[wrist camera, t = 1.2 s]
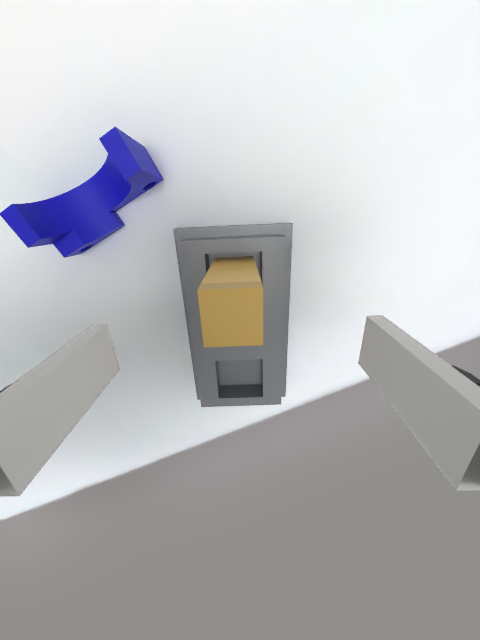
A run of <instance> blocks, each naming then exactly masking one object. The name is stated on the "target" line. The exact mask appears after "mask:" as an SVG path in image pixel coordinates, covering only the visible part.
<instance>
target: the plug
mask: <svg viewBox="0 0 480 640" xmlns="http://www.w3.org/2000/svg"><path fill="white" fill-rule="evenodd" d="M197 293H198V301H199V310H200V318H201V327H202V336H203V344H204V347H229V346H256V345H263V285H262V282H261V279H260V276H259V273H258V269H257V266H256V263H255V260H254V257H253V256H234V257H215V259H214V261H213V262H212V264H211V266H210V268H209V270H208V272H207V273H206V275H205V277H204V279H203V281H202V282H201V284H200V286H199V288H198V290H197Z"/></svg>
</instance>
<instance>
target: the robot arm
mask: <svg viewBox="0 0 480 640" xmlns="http://www.w3.org/2000/svg"><path fill="white" fill-rule="evenodd" d="M358 363H359V364H360V366H361V367H362V368H363V370H364V371H365V372H366V373H367V375H368V376H369V377H370V379H371V380H372V381H373V383H374V384H375V385H376V386H377V388H378V389H379V390H380V392H381V393H382V394H383V396H384V397H385V398H386V399H387V401H388V402H389V403H390V405H391V406H392V407H393V409H394V410H395V411H396V413H397V414H398V415H399V416H400V418H401V419H402V420H403V422H404V423H405V424H406V425H407V427H408V428H409V429H410V431H411V432H412V433H413V435H414V436H415V437H416V439H417V440H418V441H419V442H420V444H421V445H422V446H423V448H424V449H425V450H426V452H427V453H428V454H429V456H430V457H431V458H432V459H433V461H434V462H435V463H436V465H437V466H438V467H439V469H440V470H441V471H442V473H443V474H444V475H445V476H446V478H447V479H448V480H449V482H450V483H451V484H452V486H453V487H454V488H455V489H456V490H480V380H479V379H478V378H476V377H475V376H473V375H472V374H470V373H468V372H466V371H464V370H462V369H460V368H458V367H455V366H451V365H449V364H448V363H447V362H445V361H444V360H442V359H441V358H440V357H438V356H437V355H436V354H434V353H433V352H432V351H430V350H429V349H427V348H426V347H425V346H423V345H422V344H421V343H419V342H418V341H417V340H415V339H414V338H413V337H411V336H410V335H408V334H407V333H406V332H404V331H403V330H402V329H400V328H399V327H398V326H396V325H395V324H394V323H392V322H391V321H389V320H388V319H387V318H385V317H384V316H383V315H380V316H367V318H366V323H365V329H364V334H363V340H362V346H361V351H360V357H359V362H358ZM119 370H120V369H119V366H118V362H117V359H116V355H115V352H114V348H113V345H112V341H111V338H110V334H109V331H108V327H107V325H91V326H90V327H89V328H87V329H86V330H85V331H83V332H82V333H81V334H79V335H78V336H77V337H75V338H74V339H73V340H71V341H70V342H68V343H67V344H66V345H64V346H63V347H62V348H60V349H59V350H58V351H56V352H55V353H54V354H52V355H51V356H50V357H48V358H47V359H46V360H44V361H43V362H41V363H40V364H39V365H37V366H36V367H35V368H33V369H32V370H31V371H29V372H28V373H27V374H25V375H24V376H23V377H21V378H20V379H18V380H17V381H16V382H14V383H13V384H11V385H9V386H7V387H6V388H4V389H3V390H2V391H0V496H20V495H21V494H22V492H23V491H24V490H25V489H26V487H27V486H28V485H29V483H30V482H31V481H32V480H33V478H34V477H35V476H36V475H37V473H38V472H39V471H40V470H41V468H42V467H43V466H44V465H45V463H46V462H47V461H48V459H49V458H50V457H51V456H52V454H53V453H54V452H55V451H56V449H57V448H58V447H59V446H60V444H61V443H62V442H63V441H64V439H65V438H66V437H67V435H68V434H69V433H70V432H71V430H72V429H73V428H74V427H75V425H76V424H77V423H78V422H79V420H80V419H81V418H82V416H83V415H84V414H85V413H86V411H87V410H88V409H89V408H90V406H91V405H92V404H93V403H94V401H95V400H96V399H97V398H98V396H99V395H100V394H101V392H102V391H103V390H104V389H105V387H106V386H107V385H108V384H109V382H110V381H111V380H112V379H113V377H114V376H115V375H116V373H117V372H118V371H119Z"/></svg>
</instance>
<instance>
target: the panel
mask: <svg viewBox="0 0 480 640" xmlns="http://www.w3.org/2000/svg"><path fill="white" fill-rule="evenodd" d="M174 236H175V243H176V250H177V257H178V264H179V271H180V278H181V286H182V293H183V300H184V307H185V314H186V321H187V328H188V335H189V342H190V349H191V356H192V363H193V370H194V377H195V384H196V391H197V398H198V400H199V399H201V406H202V407H214V406H245V405H275V404H281V397H285V392H286V368H287V344H288V320H289V296H290V271H291V247H292V223H281V224H259V225H236V226H214V227H192V228H175V229H174ZM234 256H253V257H254V260H255V263H256V266H257V269H258V273H259V276H260V279H261V282H262V285H263V345H256V346H229V347H204V344H203V336H202V327H201V318H200V310H199V301H198V293H197V290H198V288H199V286H200V284H201V282H202V281H203V279H204V277H205V275H206V273H207V272H208V270H209V268H210V266H211V264H212V262H213V261H214V259H215V257H234Z"/></svg>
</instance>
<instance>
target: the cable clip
mask: <svg viewBox="0 0 480 640" xmlns="http://www.w3.org/2000/svg"><path fill="white" fill-rule="evenodd" d="M99 140H100V141H101V143H102V144H103V146H104V147H105V149H106V151H107V152H108V156H107V159H106V162H105V163H104V165H103V166H102V168H101V169H100V170H99V171H98V172H97V173H96V174H95V175H94V176H93V177H91V178H90V179H89V180H87V181H86V182H84V183H83V184H81V185H80V186H78V187H76V188H74V189H72V190H70V191H68V192H66V193H64V194H61V195H59V196H56V197H53V198H50V199H47V200H43V201H38V202H33V203H26V204H12V205H10V206H9V207H8V208H6V209H5V210H4V211H2V212H1V213H0V215H1V217H2V218H3V219H4V220H5V221H6V222H7V224H8V225H9V226H10V227H11V228H12V229H13V231H14V232H15V233H16V234H17V235H18V236H19V238H20V239H21V240H22V241H23V242H24V243H25V245H26V246H27V247H28V248H29V247H35V246H41V245H48V244H54V246H55V247H56V248H57V249H58V251H59V252H60V253H61V254H62V255H63V257H64V258H65V257H69V256H73V255H77V254H81V253H83V252H84V251H86V250H87V249H89V248H91V247H92V246H94V245H95V244H97V243H98V242H100V241H101V240H103V239H105V238H106V237H108V236H109V235H111V234H112V233H114V232H115V231H117V230H118V229H120V228H122V227H123V226H125V225H124V223H123V222H122V220H121V219H120V217H119V216H118V215H117V213H116V211H117V210H119V209H120V208H122V207H123V206H125V205H126V204H128V203H129V202H131V201H132V200H134V199H135V198H137V197H138V196H140V195H141V194H143V193H144V192H146V191H147V190H149V189H150V188H152V187H153V186H155V185H156V184H158V183H159V182H161V181H162V180H163V178H162V176H161V174H160V173H159V171H158V169H157V167H156V166H155V164H154V162H153V161H152V159H151V157H150V155H149V154H148V152H147V150H146V149H145V147H144V146H142V145H141V144H139V143H138V142H137V141H135V140H134V139H132V138H131V137H129V136H128V135H126V134H125V133H124V132H122V131H121V130H119V129H118V128H116V127H114V128H113V129H111V130H110V131H109V132H107V133H106V134H105V135H103V136H102V137H101V138H100V139H99Z"/></svg>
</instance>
